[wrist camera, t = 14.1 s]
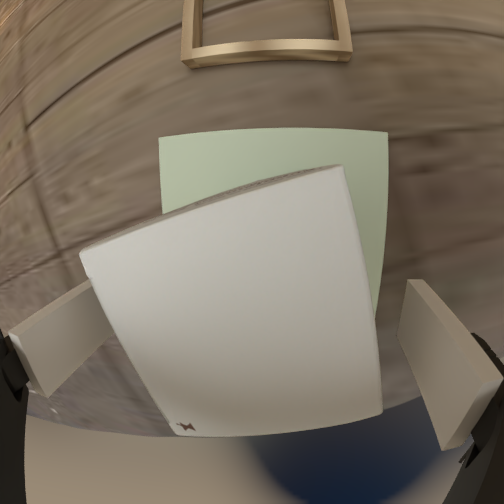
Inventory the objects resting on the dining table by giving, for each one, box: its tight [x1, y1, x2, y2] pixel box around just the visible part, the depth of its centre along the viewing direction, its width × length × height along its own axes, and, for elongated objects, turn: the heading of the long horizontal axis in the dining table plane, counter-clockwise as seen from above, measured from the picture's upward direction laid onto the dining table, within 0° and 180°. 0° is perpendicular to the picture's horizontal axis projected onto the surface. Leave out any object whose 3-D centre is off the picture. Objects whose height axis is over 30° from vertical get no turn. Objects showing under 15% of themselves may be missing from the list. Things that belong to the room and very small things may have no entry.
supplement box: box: [79, 164, 383, 437], centre depth 16 cm, size 10×9×17 cm
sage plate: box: [159, 128, 388, 317], centre depth 25 cm, size 20×18×1 cm
